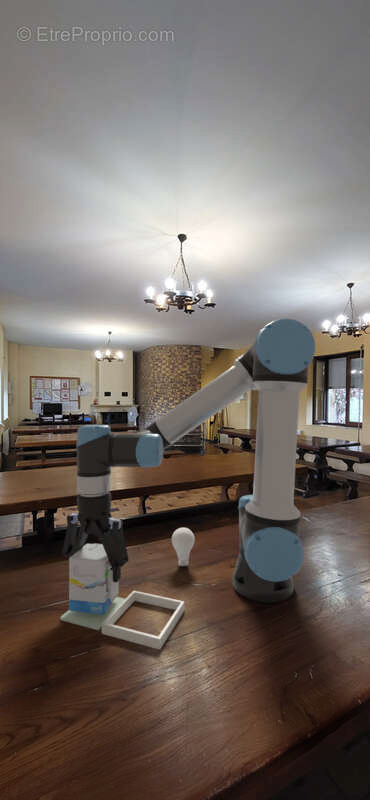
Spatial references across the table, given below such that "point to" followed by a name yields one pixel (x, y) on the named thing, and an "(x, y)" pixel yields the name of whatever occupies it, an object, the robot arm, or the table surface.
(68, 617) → the mat
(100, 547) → the ink box
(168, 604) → the tray rim
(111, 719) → the table surface
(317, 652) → the table surface
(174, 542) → the light bulb
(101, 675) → the table surface
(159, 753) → the table surface
